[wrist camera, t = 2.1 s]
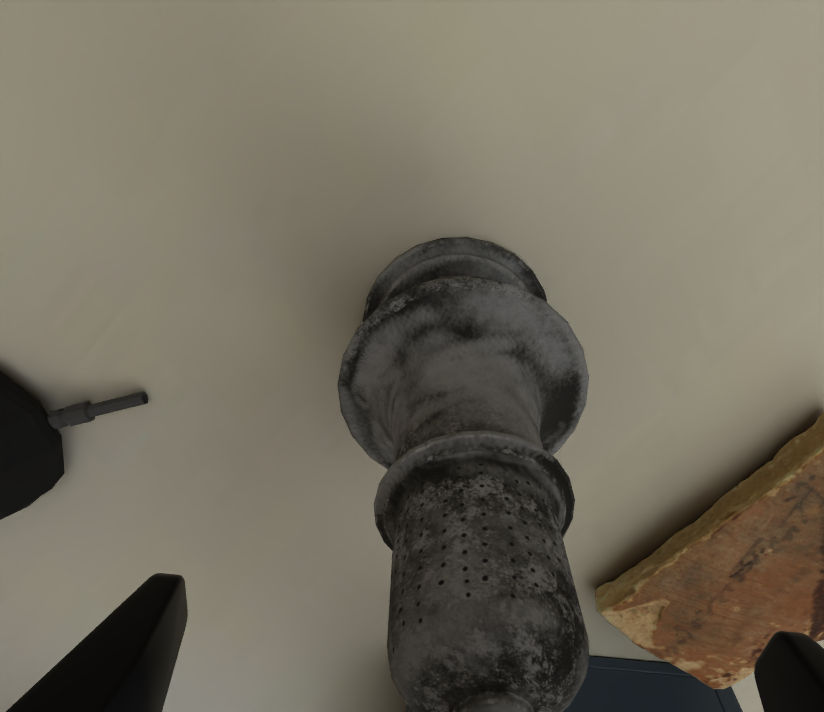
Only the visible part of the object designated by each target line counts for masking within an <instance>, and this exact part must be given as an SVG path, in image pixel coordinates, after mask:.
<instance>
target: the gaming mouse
mask: <svg viewBox="0 0 824 712" xmlns="http://www.w3.org/2000/svg"><path fill="white" fill-rule="evenodd" d="M146 403H148V396H147V394H146V393H145V392H140V393H136V394H132V395H128V396H124V397H120V398H116V399H112V400H107V401H103V402H99V403H95V404H91V403H90V402H89V401H87V402H83V403H79V404H75V405H71V406H67V407H65V409H64V408H62V409H58V410H54V411H51V412H50V413H49V414H47V412H46V411H45V409H44V407H43V406H42V404H41V403H40V401H39V400H37V399H36V398H35V397H33V396H32V395H31V394H30V393H28V392H27V391H26V390H24V389H23V388H22V387H20V386H19V385H18V384H17V383H15V382H14V381H13V380H11V379H10V378H9V377H8V376H6V375H5V374H4V373H2V372H1V371H0V520H1V519H3V518H5V517H7V516H9V515H11V514H13V513H15V512H17V511H20V510H22V509H24V508H26V507H28V506H29V505H31V504H32V503H33V502H34V501H35V500H36V499H38V498H39V497H40V496H41V495H43V494H44V493H46V492H48V491H49V490H51V489H52V488H53V487H54V485H55V484H56V483H57V481H58V480H59V479H60V478H61V477H62V475H63V474H64V461H63V449H62V437H61V434H60V433H59V431H58V429H57V428H62V427H65V426H68V425H70V426H73V425H78V424H82V423H86V422H90V421H92V420H94V419H95V416H98V415H102V414H106V413H110V412H114V411H118V410H122V409H126V408H130V407H135V406H139V405H143V404H146Z"/></svg>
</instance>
